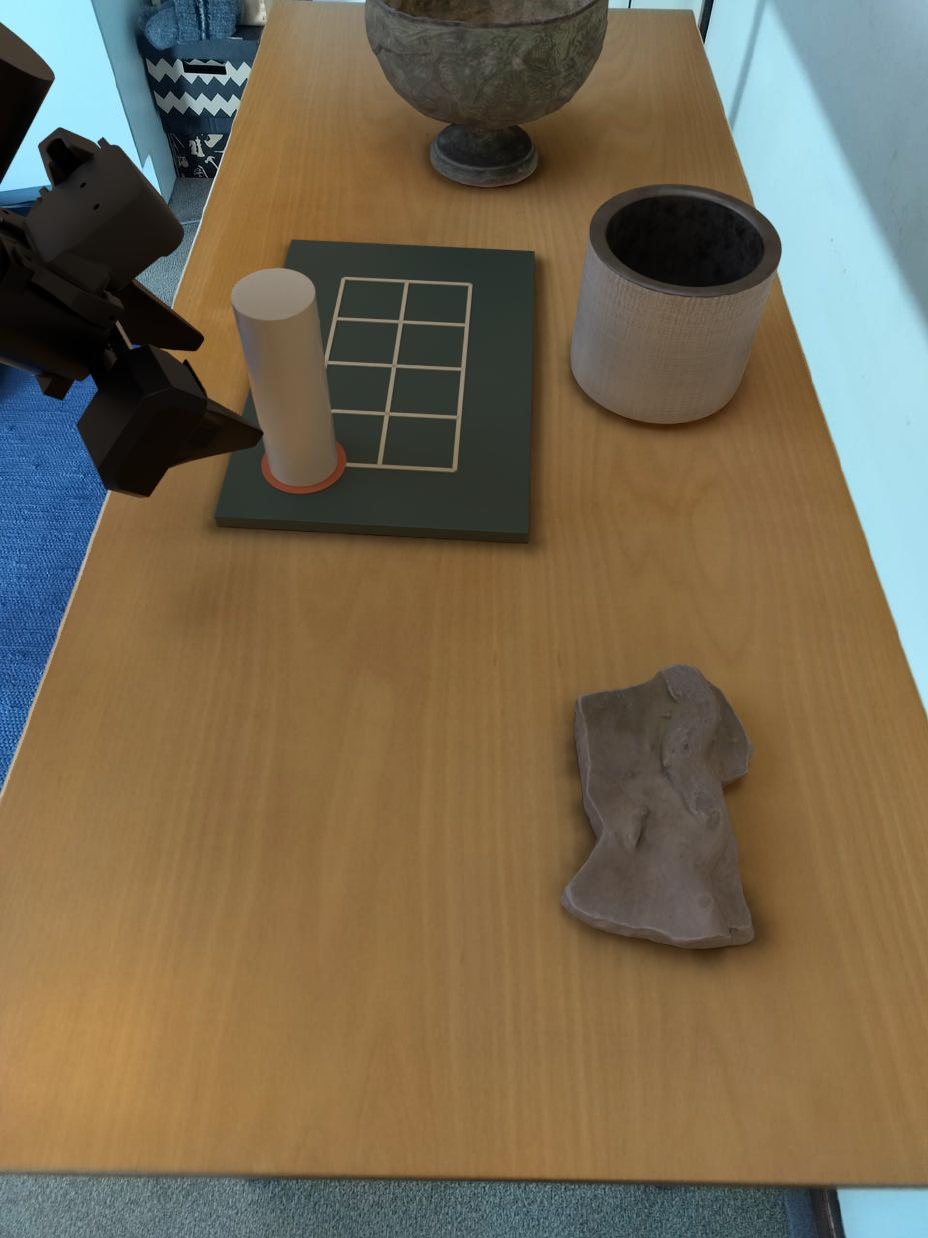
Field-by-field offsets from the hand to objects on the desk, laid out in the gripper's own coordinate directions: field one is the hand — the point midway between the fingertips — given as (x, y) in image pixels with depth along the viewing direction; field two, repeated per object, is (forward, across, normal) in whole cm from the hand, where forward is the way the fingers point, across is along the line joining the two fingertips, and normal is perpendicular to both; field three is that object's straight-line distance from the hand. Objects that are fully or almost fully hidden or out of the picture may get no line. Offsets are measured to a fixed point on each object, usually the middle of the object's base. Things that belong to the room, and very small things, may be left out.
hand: (228, 388), depth 53 cm
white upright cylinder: (+8, 0, +3) cm, 9 cm away
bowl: (+31, +29, -18) cm, 46 cm away
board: (+16, +6, -3) cm, 17 cm away
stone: (+13, -31, 0) cm, 34 cm away
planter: (+28, -3, -15) cm, 32 cm away
